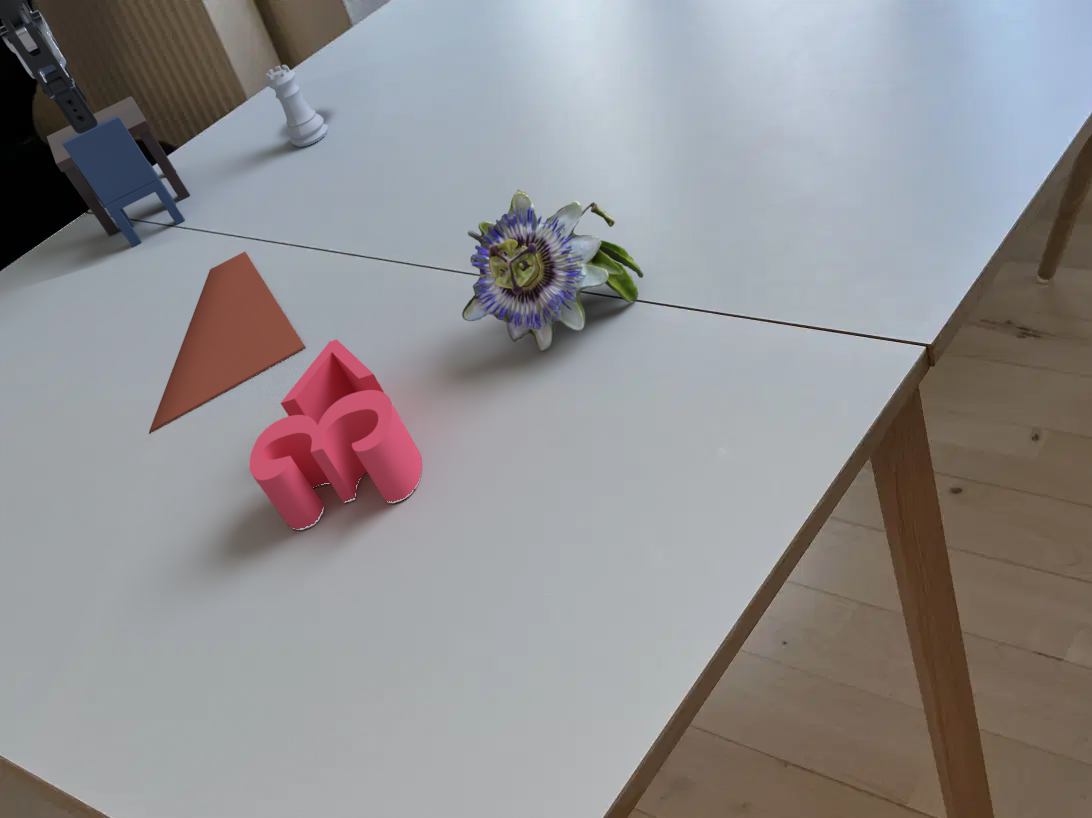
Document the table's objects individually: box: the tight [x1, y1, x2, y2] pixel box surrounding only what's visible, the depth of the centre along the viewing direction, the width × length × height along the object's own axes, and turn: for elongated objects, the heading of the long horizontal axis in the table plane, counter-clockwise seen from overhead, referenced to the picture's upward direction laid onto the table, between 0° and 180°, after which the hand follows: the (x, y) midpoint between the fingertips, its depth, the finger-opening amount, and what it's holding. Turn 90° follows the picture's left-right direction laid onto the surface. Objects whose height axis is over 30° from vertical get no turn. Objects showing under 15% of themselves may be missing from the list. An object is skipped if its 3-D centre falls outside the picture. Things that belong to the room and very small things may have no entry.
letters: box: [249, 338, 423, 529], centre depth 78 cm, size 14×10×5 cm
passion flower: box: [461, 188, 644, 352], centre depth 83 cm, size 11×11×12 cm
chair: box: [62, 115, 186, 248], centre depth 115 cm, size 6×6×12 cm
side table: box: [46, 95, 191, 237], centre depth 121 cm, size 10×10×9 cm
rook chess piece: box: [265, 64, 329, 148], centre depth 121 cm, size 4×4×8 cm
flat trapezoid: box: [148, 251, 307, 433], centre depth 98 cm, size 22×14×1 cm, turn 30°
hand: (83, 117), depth 108 cm, fingers open, 8 cm apart
